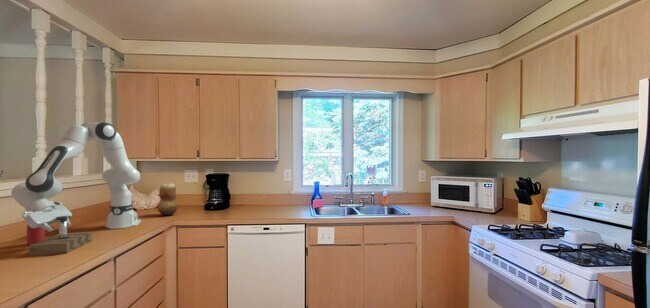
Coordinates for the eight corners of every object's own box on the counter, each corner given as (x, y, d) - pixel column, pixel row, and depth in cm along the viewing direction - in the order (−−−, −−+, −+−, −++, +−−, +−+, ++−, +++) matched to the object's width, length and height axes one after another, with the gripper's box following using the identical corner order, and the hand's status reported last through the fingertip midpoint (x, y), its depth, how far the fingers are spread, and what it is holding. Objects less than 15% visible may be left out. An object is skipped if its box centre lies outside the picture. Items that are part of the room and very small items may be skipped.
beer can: (43, 241, 154) (43, 219, 154) (45, 243, 150) (45, 221, 150) (26, 244, 149) (26, 221, 149) (27, 246, 145) (27, 223, 145)
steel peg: (60, 246, 145) (60, 215, 145) (73, 245, 146) (73, 215, 146) (52, 250, 140) (52, 218, 140) (65, 249, 141) (65, 217, 141)
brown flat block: (59, 242, 151) (59, 233, 151) (91, 240, 154) (91, 231, 154) (29, 255, 131) (29, 245, 132) (66, 253, 135) (66, 243, 135)
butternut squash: (155, 217, 212) (155, 184, 212) (161, 213, 225) (161, 183, 225) (175, 216, 215) (175, 184, 215) (180, 212, 228) (180, 182, 228)
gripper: (24, 208, 132) (46, 229, 133) (63, 201, 153) (81, 219, 153) (14, 218, 132) (36, 238, 132) (54, 209, 152) (73, 227, 153)
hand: (60, 228), depth 143 cm, fingers open, 8 cm apart
